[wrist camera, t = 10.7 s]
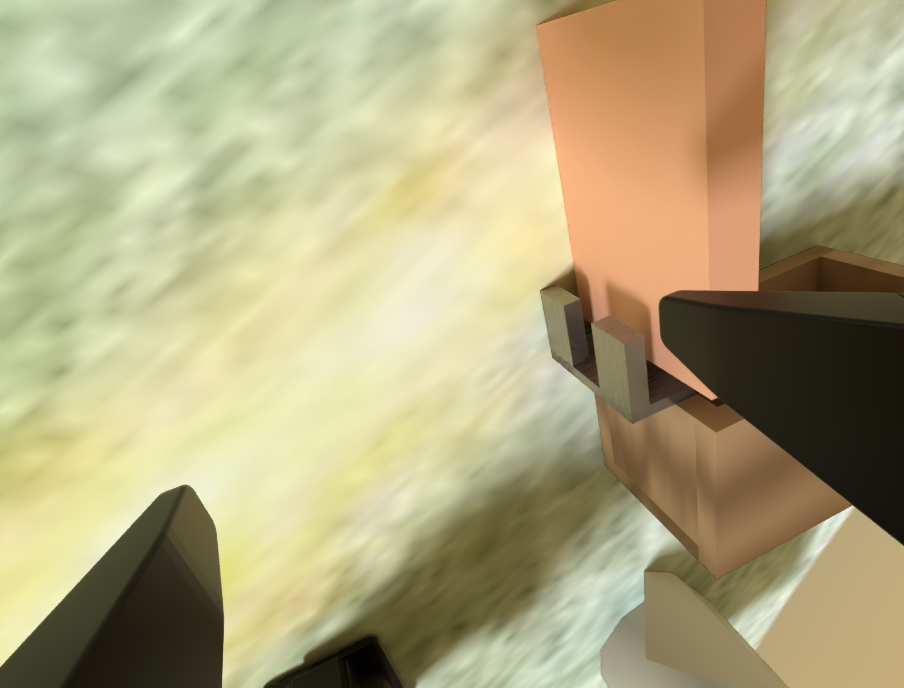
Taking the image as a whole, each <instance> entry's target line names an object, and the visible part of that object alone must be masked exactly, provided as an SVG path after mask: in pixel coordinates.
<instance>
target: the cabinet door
mask: <svg viewBox="0 0 904 688" xmlns="http://www.w3.org/2000/svg"><path fill="white" fill-rule="evenodd" d="M766 2H767V0H615V1H612V2H609V3H606V4H603V5H599V6H596V7H593V8H590V9H587V10H584V11H580V12H577V13H574V14H571V15H568V16H565V17H562V18H558V19H555V20H552V21H549V22H546V23H543V24H540V25H536V28H537V34H538V41H539V47H540V53H541V60H542V66H543V73H544V79H545V85H546V92H547V98H548V104H549V111H550V117H551V124H552V130H553V136H554V143H555V149H556V155H557V162H558V168H559V175H560V181H561V187H562V194H563V200H564V206H565V213H566V219H567V226H568V232H569V238H570V245H571V251H572V257H573V264H574V270H575V276H576V283H577V289H578V296H579V298H580V299H581V306H582V312H583V319H584V320H585V321H587V322H589V323H590V324H591V323H593V322H595V321H598V320H600V319H602V318H605V317H607V316H611V317H613V318H614V319H616V320H618V321H620V322H621V323H623V324H625V325H627V326H628V327H630V328H632V329H634V330H635V331H637V332H639V333H640V334H642V335H644V342H645V354H646V359H647V360H649V361H650V362H652V363H654V364H655V365H657V366H658V367H660V368H661V369H663V370H665V371H666V372H668V373H669V374H671V375H673V376H674V377H676V378H677V379H679V380H680V381H682V382H684V383H685V384H687V385H688V386H690V387H692V388H693V389H695V390H696V391H698V392H699V393H701V394H703V395H704V396H706V397H707V398H709V399H711V400H714V399H716V398H718V397H717V396H716V395H715V394H713V393H712V392H711V391H710V390H709V389H708V388H707V387H706V386H705V385H704V384H703V383H702V382H701V381H700V380H699V379H698V378H697V377H696V376H695V375H694V374H693V373H692V372H691V371H690V370H689V369H688V368H687V367H685V366H684V365H683V364H682V363H681V362H680V361H679V360H678V359H677V358H676V357H675V356H674V355H673V354H672V353H671V352H670V351H669V350H668V349H667V348H666V347H665V346H664V344H663V342H662V340H661V337H660V326H659V308H658V306H659V301H660V299H661V298H662V297H663V296H665V295H668V294H670V293H673V292H676V291H679V290H714V291H758V277H759V243H760V208H761V174H762V139H763V105H764V70H765V36H766Z"/></svg>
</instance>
